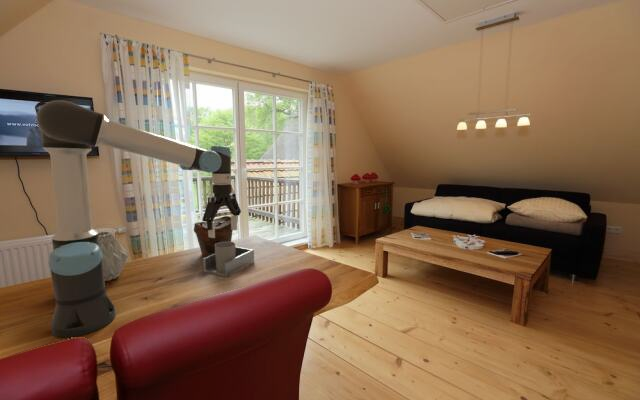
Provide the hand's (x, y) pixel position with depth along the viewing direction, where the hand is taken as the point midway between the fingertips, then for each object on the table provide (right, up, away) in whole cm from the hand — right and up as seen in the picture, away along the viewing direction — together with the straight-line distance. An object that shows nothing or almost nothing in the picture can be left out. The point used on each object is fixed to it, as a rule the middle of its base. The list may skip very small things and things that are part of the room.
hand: (223, 233), depth 127 cm
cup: (0, -15, +3) cm, 15 cm away
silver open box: (+1, -15, +5) cm, 16 cm away
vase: (-45, -17, -7) cm, 49 cm away
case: (-11, -13, +22) cm, 27 cm away
